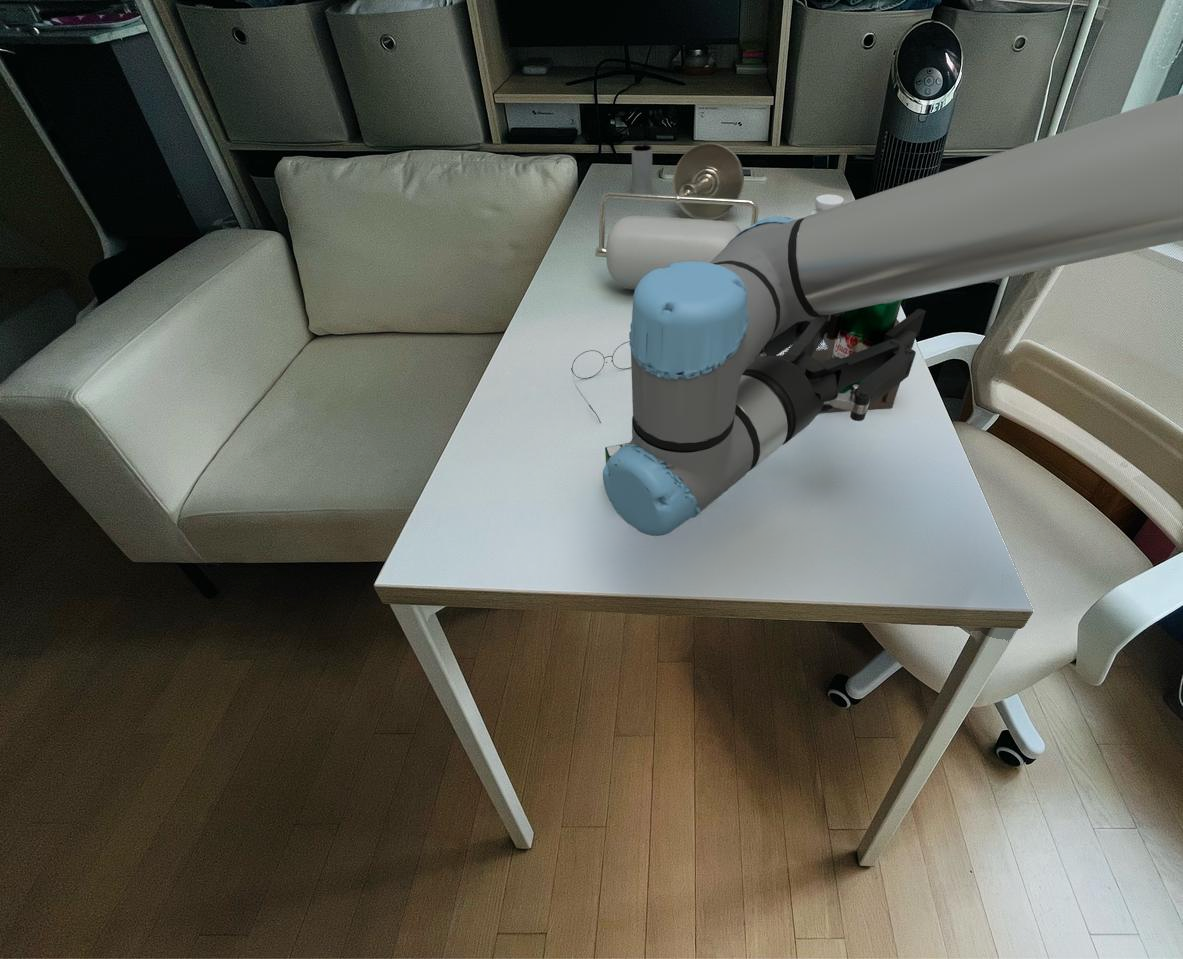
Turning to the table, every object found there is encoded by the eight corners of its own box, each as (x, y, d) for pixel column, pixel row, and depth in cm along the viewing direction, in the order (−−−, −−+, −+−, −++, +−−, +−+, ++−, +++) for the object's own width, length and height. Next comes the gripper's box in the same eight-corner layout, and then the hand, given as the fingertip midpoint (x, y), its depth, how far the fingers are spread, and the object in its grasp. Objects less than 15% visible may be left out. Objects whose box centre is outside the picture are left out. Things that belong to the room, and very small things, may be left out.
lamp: (641, 255, 147) (587, 295, 113) (647, 141, 136) (589, 148, 102) (764, 264, 140) (746, 310, 106) (780, 145, 129) (767, 154, 95)
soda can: (816, 388, 70) (838, 282, 62) (842, 368, 73) (867, 264, 65) (859, 407, 67) (888, 299, 59) (884, 386, 70) (916, 280, 62)
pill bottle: (843, 258, 122) (856, 197, 115) (824, 270, 119) (836, 208, 112) (813, 249, 126) (824, 190, 118) (795, 260, 123) (805, 200, 115)
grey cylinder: (655, 194, 151) (656, 146, 144) (643, 200, 149) (643, 152, 142) (640, 190, 154) (640, 143, 147) (628, 196, 151) (627, 148, 144)
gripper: (674, 405, 65) (809, 316, 76) (839, 493, 55) (967, 376, 66) (676, 338, 60) (821, 253, 71) (859, 421, 49) (994, 307, 61)
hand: (891, 312), depth 68 cm, fingers closed on soda can, 5 cm apart
